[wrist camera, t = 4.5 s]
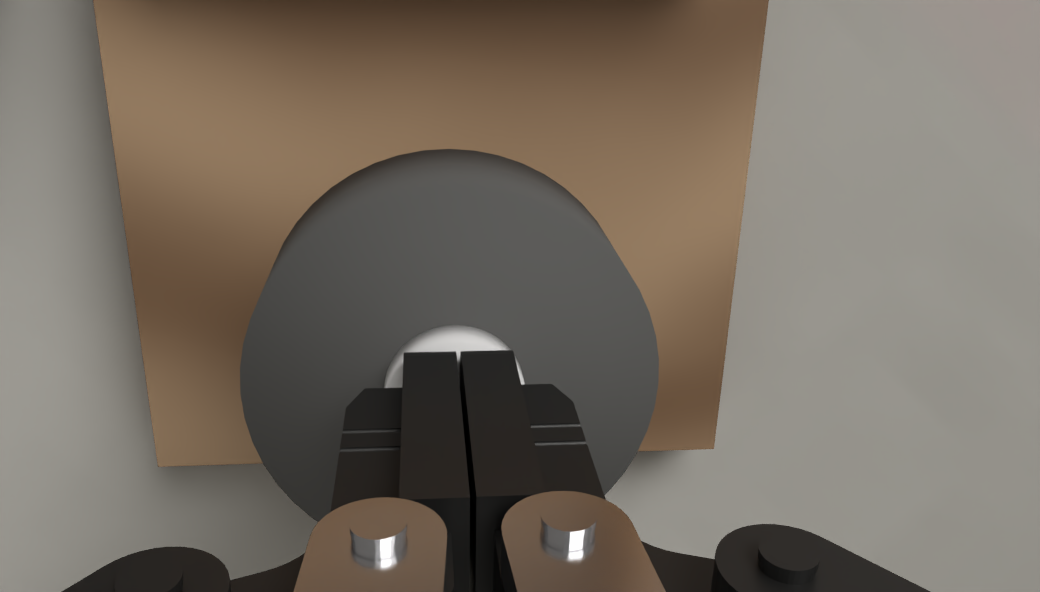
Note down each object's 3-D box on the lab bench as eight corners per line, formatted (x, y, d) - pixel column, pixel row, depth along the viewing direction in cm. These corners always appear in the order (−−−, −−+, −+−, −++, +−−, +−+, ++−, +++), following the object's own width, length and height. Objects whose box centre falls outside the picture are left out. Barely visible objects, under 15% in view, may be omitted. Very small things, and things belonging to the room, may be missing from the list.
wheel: (249, 147, 14) (211, 198, 11) (640, 149, 14) (688, 197, 12) (277, 487, 16) (250, 595, 13) (615, 475, 17) (651, 576, 14)
